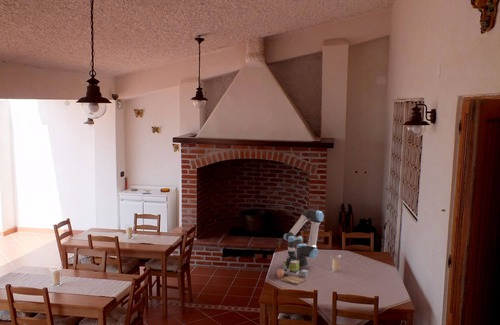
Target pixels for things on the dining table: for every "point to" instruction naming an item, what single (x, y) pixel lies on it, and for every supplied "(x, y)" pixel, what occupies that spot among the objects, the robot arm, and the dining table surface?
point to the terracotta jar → (280, 273)
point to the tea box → (291, 267)
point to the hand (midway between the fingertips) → (291, 270)
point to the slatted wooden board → (293, 279)
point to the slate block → (304, 273)
